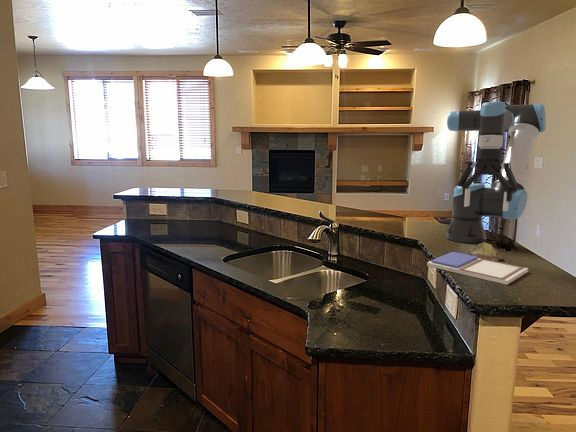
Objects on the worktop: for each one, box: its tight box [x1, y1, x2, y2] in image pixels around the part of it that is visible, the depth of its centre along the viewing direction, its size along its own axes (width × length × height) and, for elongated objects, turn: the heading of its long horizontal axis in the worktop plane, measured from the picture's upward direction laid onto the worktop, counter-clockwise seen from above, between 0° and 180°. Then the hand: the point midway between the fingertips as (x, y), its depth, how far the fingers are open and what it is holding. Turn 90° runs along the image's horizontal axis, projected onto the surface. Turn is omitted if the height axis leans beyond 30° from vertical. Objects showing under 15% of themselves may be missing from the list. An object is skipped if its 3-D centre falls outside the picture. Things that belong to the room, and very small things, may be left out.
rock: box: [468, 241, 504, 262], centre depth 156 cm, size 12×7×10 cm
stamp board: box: [426, 251, 529, 286], centre depth 143 cm, size 17×26×2 cm, turn 43°
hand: (485, 208), depth 154 cm, fingers open, 13 cm apart
